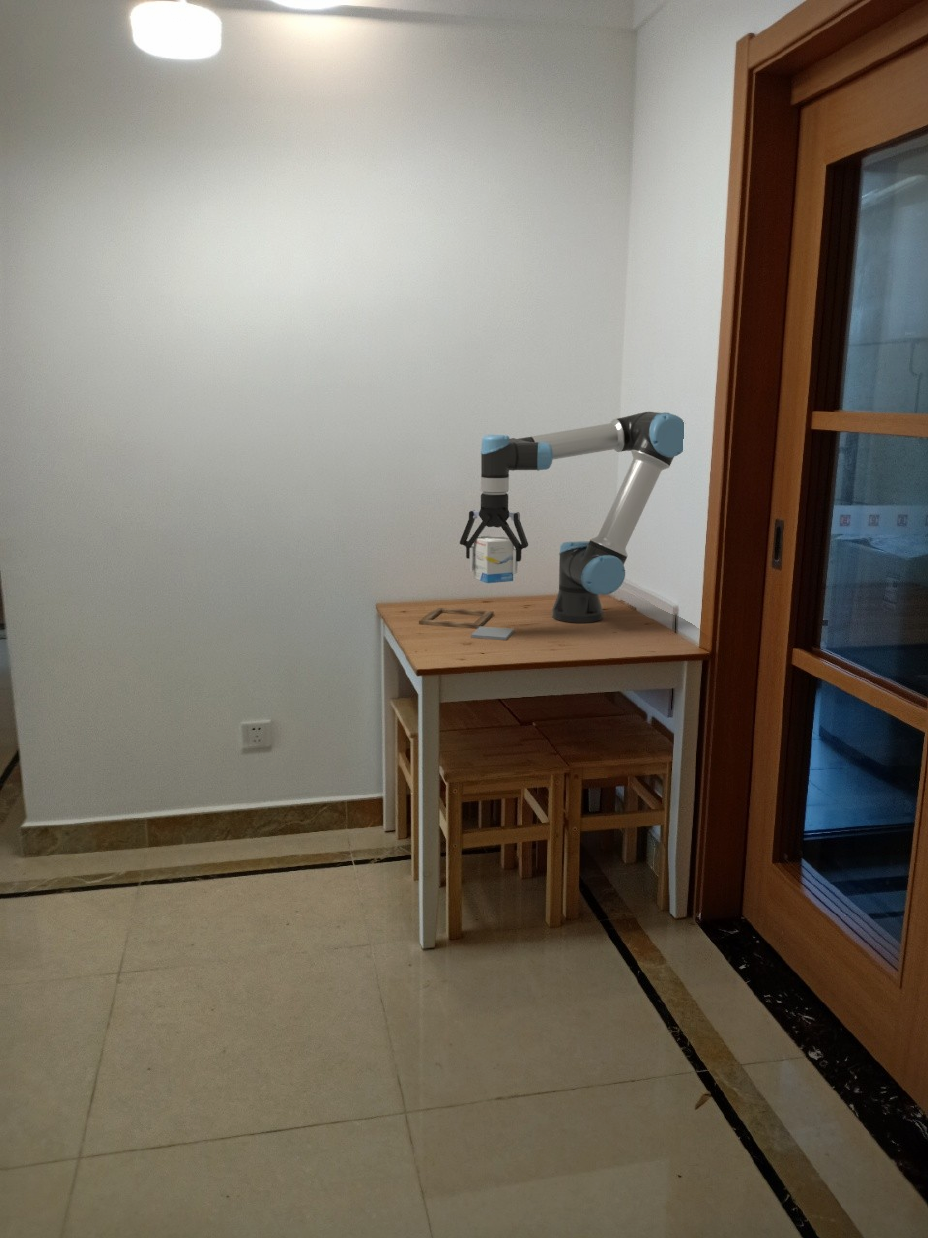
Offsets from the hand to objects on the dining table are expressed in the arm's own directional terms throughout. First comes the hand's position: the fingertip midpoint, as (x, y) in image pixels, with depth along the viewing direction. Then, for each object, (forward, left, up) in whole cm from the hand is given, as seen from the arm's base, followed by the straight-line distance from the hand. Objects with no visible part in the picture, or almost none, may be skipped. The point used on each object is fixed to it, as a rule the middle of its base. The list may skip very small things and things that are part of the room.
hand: (493, 571), depth 280 cm
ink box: (0, 0, -2) cm, 2 cm away
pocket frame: (+14, -15, -18) cm, 27 cm away
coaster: (0, 0, -18) cm, 18 cm away
